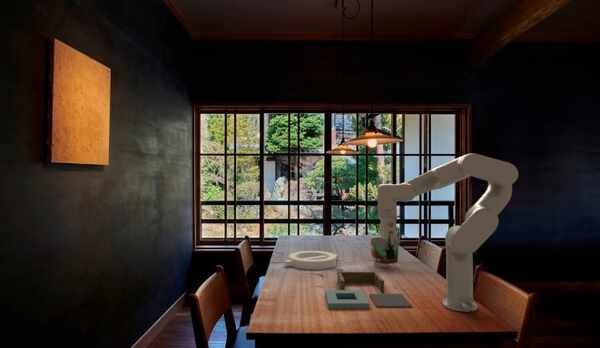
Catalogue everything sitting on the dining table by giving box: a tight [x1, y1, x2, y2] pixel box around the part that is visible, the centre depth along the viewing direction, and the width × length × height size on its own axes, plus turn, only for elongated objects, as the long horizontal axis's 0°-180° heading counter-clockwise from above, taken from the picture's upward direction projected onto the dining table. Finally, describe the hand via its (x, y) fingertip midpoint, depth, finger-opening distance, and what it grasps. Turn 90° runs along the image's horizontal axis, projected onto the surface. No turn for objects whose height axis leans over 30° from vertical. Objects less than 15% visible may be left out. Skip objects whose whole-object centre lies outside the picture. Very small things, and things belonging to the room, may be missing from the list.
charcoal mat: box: [369, 293, 413, 308], centre depth 143 cm, size 14×14×1 cm
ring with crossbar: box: [283, 250, 340, 270], centre depth 207 cm, size 28×28×5 cm
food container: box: [372, 235, 401, 265], centre depth 144 cm, size 12×6×10 cm, turn 103°
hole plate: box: [324, 289, 371, 309], centre depth 143 cm, size 16×16×2 cm
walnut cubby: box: [336, 271, 385, 293], centre depth 162 cm, size 16×19×5 cm
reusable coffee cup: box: [370, 237, 391, 268], centre depth 202 cm, size 13×13×15 cm
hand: (388, 256), depth 145 cm, fingers closed on food container, 5 cm apart
